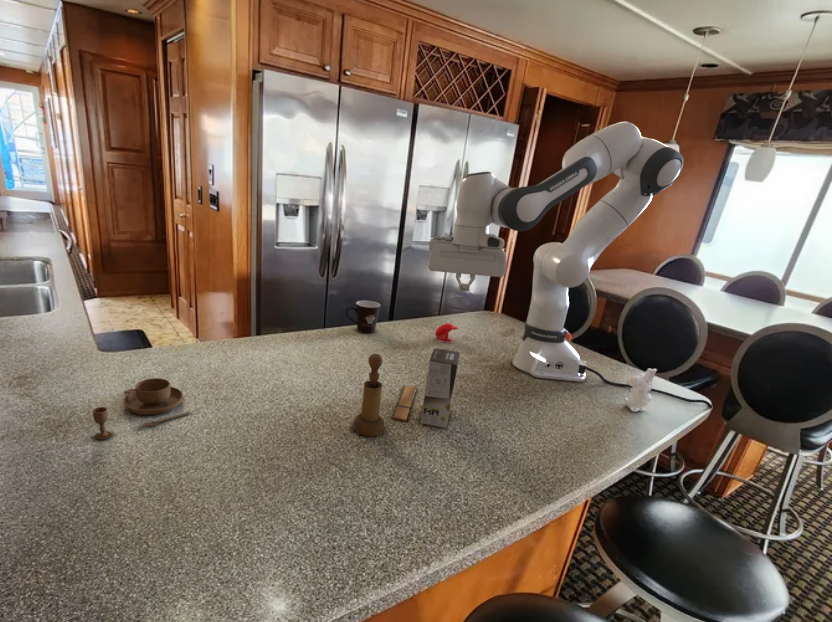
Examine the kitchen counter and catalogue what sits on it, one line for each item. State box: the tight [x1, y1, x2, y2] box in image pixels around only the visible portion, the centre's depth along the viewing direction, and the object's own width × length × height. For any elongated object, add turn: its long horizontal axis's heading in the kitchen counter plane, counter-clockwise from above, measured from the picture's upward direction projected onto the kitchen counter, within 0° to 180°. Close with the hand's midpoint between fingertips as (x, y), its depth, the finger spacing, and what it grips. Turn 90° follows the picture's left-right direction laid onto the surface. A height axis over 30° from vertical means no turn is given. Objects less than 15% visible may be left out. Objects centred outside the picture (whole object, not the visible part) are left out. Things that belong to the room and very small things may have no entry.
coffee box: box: [420, 347, 461, 429], centre depth 108 cm, size 9×6×16 cm
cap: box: [434, 323, 459, 343], centre depth 163 cm, size 8×6×6 cm
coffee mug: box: [345, 300, 381, 335], centre depth 163 cm, size 12×9×10 cm
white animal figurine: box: [623, 367, 658, 413], centre depth 124 cm, size 8×7×12 cm
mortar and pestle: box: [353, 353, 385, 437], centre depth 99 cm, size 7×6×18 cm
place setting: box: [92, 377, 189, 441], centre depth 99 cm, size 18×20×6 cm
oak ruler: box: [392, 385, 417, 422], centre depth 116 cm, size 3×18×1 cm, turn 168°
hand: (463, 290), depth 123 cm, fingers closed
